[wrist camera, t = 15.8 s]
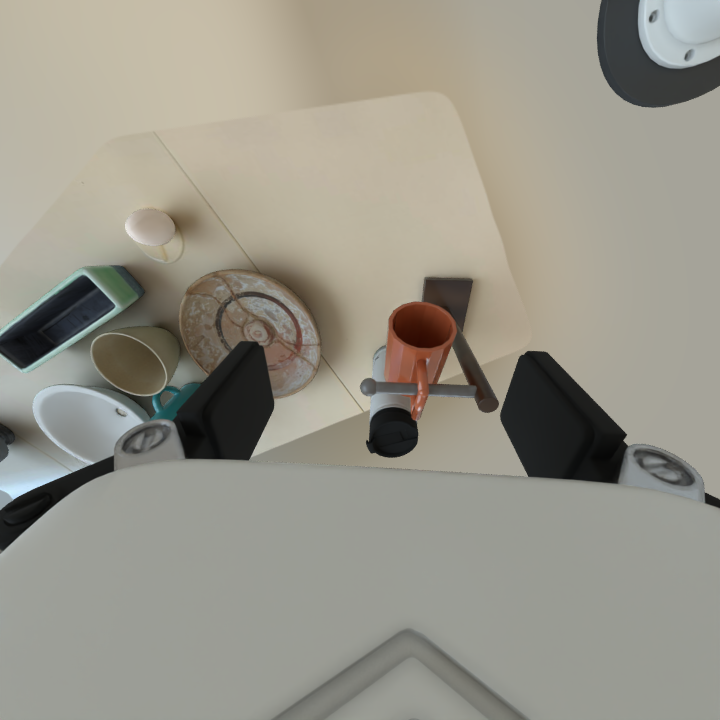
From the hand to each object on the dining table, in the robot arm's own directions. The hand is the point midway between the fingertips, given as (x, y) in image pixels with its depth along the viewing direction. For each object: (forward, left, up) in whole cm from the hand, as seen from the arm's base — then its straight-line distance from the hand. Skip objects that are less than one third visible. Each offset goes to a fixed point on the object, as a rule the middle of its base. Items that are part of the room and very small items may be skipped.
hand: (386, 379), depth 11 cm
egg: (-1, -32, -36) cm, 49 cm away
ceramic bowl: (+16, -21, -36) cm, 45 cm away
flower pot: (+19, -40, -36) cm, 57 cm away
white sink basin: (+37, -56, -36) cm, 76 cm away
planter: (+13, -52, -36) cm, 65 cm away
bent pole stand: (+11, +6, -36) cm, 38 cm away
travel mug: (+21, +2, -36) cm, 42 cm away
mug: (+15, +4, -20) cm, 25 cm away
